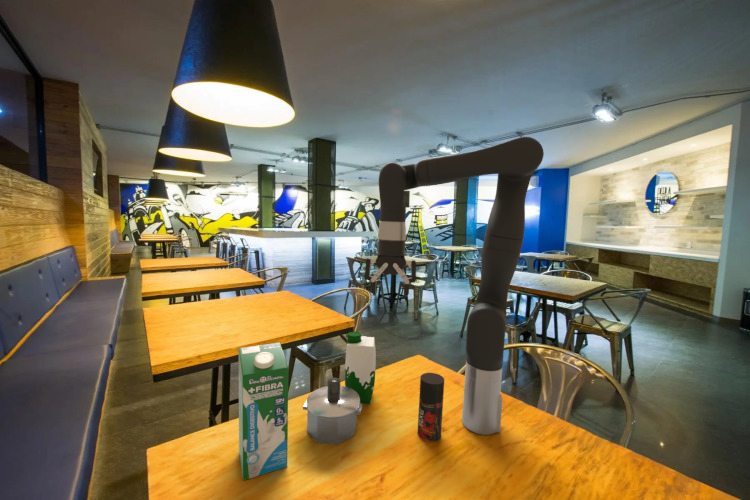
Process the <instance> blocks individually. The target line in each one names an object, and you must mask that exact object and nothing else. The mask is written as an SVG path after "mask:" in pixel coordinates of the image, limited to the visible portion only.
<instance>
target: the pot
mask: <svg viewBox="0 0 750 500" xmlns="http://www.w3.org/2000/svg"><path fill="white" fill-rule="evenodd" d="M362 409H363V404H362V403H360V405H359V407H358V409H357V410H356V411H355V412H353V413H352V414H350V415H348V416H345V417H341V418H322V417H319V416H316V415H314V414H312V413H311V412H310V411H309V410H308V408H307V399H306V400H305V402H304V404H303V406H302V410H305V411H307V414H306V415H307V417H306V419H307V421H306V422H307V423H306V432H307V433H308V435H310V437H311V438H312V439H314V441H315V442H316V443H320V444H329V445H339V444H341V443H343V442H345V441H347V440H349V439H351V438H353V437H354V436H355V433H356V428H357V425H358V415H359V416H360V415H361V413H362Z"/></svg>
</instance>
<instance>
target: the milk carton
mask: <svg viewBox="0 0 750 500" xmlns="http://www.w3.org/2000/svg"><path fill="white" fill-rule="evenodd" d="M288 426H289V366H288V363H287V360H286V356H285V353H284V351H283V347H282V344H281V342H275V343H274V342H272V343H265V344H260V345H259V344H257V345H252V346H246V347H239V348H238V453H239V461H240V469H241V475H242V481H246V480H249V479H253V478H255V477H258V476H261V475H262V476H263V475H265V474H268V473H271V472H272V473H273V472H275V471H278V470H281V469H283V468H287V467H288V446H289V445H288V442H289V441H288V436H289V434H288V432H289V431H288V429H289V427H288Z"/></svg>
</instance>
